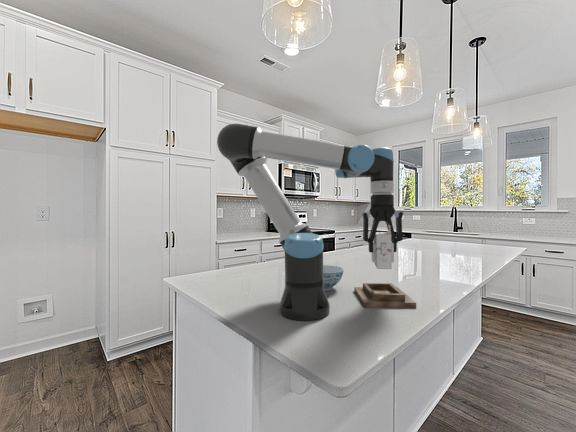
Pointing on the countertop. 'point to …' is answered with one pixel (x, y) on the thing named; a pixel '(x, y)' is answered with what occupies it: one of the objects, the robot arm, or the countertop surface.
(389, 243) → the ink cartridge box
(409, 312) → the countertop surface
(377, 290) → the walnut bay board
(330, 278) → the chinaware
